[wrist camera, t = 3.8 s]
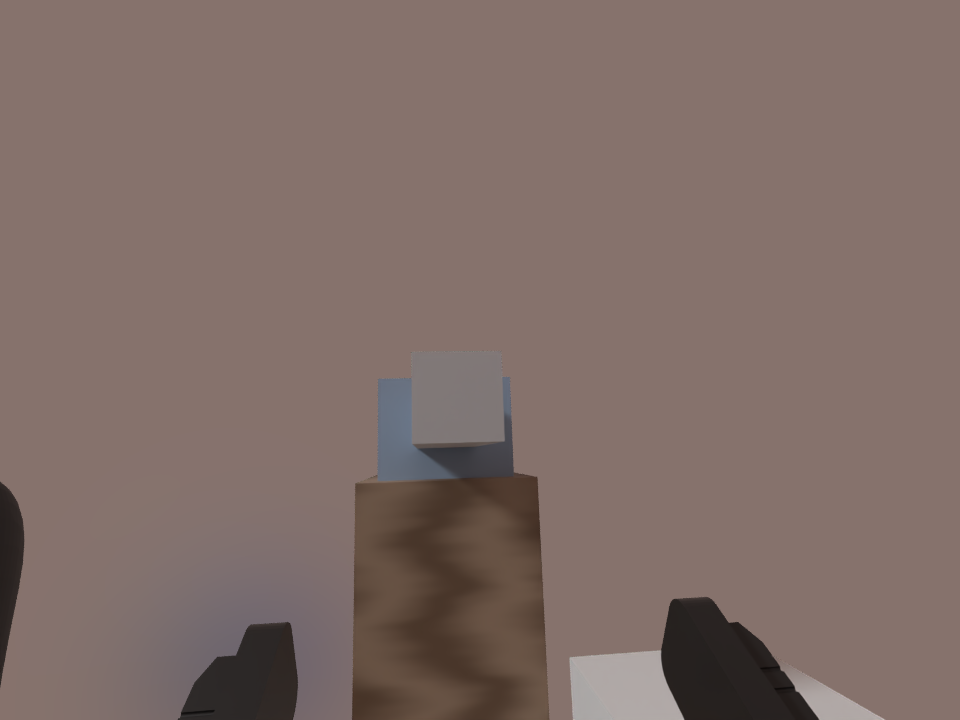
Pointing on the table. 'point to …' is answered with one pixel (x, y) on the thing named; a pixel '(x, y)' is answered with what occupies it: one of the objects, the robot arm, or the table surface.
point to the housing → (446, 419)
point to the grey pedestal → (649, 702)
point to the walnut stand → (448, 600)
